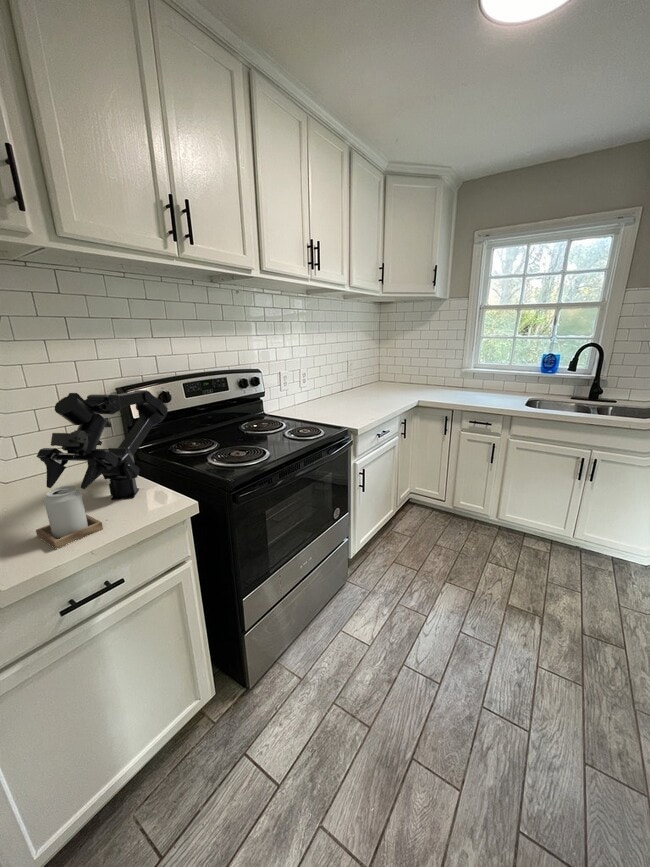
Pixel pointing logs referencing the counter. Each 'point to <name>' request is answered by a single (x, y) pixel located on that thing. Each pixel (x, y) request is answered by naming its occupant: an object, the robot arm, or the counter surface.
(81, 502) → the can
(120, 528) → the counter surface
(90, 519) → the frame
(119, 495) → the robot arm
